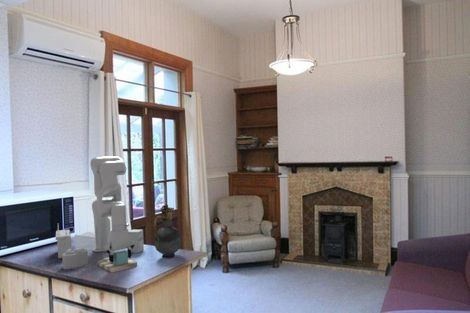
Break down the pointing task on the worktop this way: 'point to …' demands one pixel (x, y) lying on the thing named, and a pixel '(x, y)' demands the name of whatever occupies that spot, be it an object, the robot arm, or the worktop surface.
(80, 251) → the lumpy-topped squat cylinder
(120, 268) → the ticket board
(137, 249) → the supplement box
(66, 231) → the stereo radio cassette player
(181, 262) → the worktop surface
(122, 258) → the block
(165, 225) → the pitcher
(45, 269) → the worktop surface
